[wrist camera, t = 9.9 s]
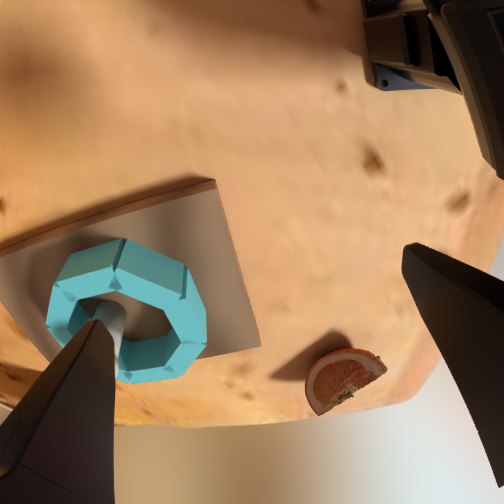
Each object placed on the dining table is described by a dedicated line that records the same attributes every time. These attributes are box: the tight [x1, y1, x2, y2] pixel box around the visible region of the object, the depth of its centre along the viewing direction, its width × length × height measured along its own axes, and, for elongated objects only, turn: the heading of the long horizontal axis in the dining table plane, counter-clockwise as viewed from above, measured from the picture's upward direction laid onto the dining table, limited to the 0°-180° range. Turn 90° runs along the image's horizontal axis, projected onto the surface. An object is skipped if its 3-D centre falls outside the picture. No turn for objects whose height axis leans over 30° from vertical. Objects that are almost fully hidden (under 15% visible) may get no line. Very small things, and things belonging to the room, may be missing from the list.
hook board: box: [0, 180, 261, 379], centre depth 20 cm, size 20×14×8 cm
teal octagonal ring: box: [46, 238, 207, 384], centre depth 21 cm, size 11×11×3 cm
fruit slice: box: [305, 349, 388, 416], centre depth 29 cm, size 8×7×5 cm
